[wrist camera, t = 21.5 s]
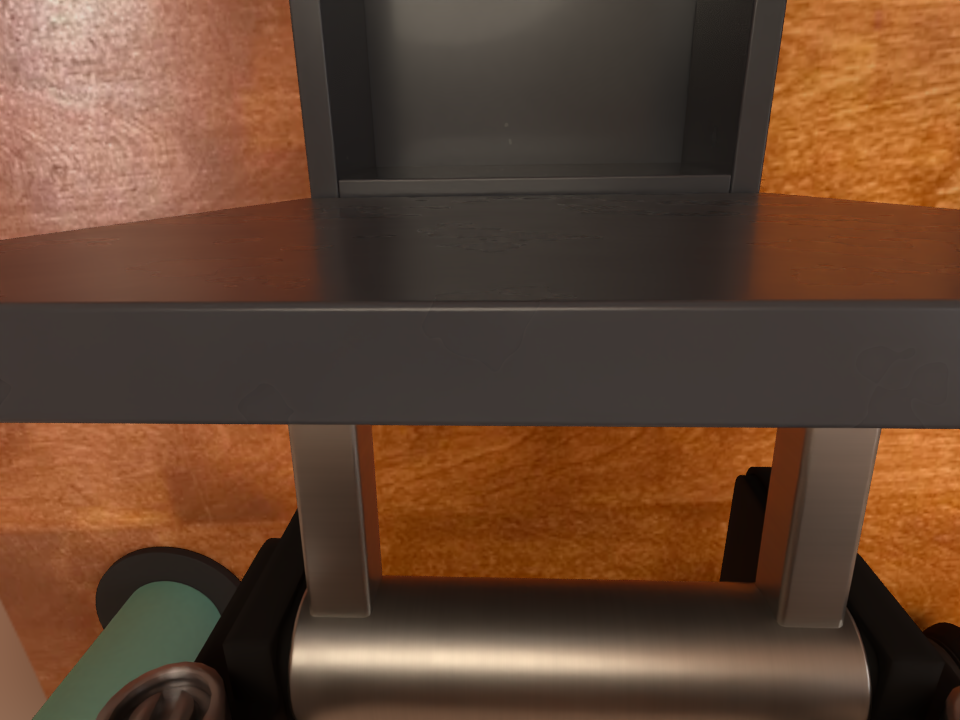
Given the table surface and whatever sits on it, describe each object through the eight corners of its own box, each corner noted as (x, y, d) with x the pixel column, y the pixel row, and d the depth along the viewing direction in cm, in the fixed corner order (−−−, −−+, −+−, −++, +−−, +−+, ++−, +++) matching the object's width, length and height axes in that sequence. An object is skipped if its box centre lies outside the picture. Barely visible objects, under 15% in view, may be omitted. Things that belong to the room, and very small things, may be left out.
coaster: (95, 647, 36) (90, 654, 35) (106, 527, 33) (100, 533, 32) (245, 686, 37) (241, 694, 36) (270, 572, 33) (267, 578, 33)
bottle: (123, 641, 35) (-47, 869, 24) (131, 569, 33) (-50, 783, 22) (216, 665, 35) (88, 901, 25) (229, 595, 33) (97, 818, 23)
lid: (-487, 304, 4) (-193, 900, 5) (1972, 298, 3) (1479, 980, 5) (306, 197, 19) (322, 365, 20) (766, 192, 18) (745, 366, 20)
